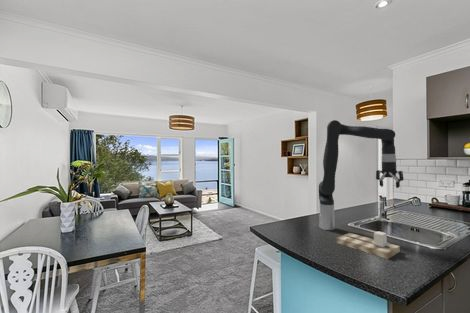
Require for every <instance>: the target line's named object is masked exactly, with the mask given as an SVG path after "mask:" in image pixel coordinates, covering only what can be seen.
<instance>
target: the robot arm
mask: <svg viewBox="0 0 470 313" xmlns="http://www.w3.org/2000/svg"><path fill="white" fill-rule="evenodd" d="M340 135H341V136H342V135H343V136H344V135H345V136H353V137H354V136H355V137H359V138H364V139H365V138H366V139H377V140H378V139H379V140H380V141H381V170H379V169H377V170H376V172H375V173H376V174H375V180H377V181H379V186H380V187H381V188H382V187H384V179H385V178H391V179H392V178H393V180H395V188H396V189H399V188H401V182H403V181H404V172H403V170H397V156H396V146H395V138H396V132H395V130H393V129H390V128H379V127H378V128H377V127H371V126H351V125H345V124H342V123H341V122H340V121H339V120H336V119H335V120H331V121H329V122H328V123H327V126H326V142H325V146H324V150H323V151H324V153H323V158H322V167H323V178H322V181H320V183H318V200H319V214H318V228H320V229H322V230H324V231H334V230H335V228H336V227H335V226H336V225H335V223H336V222H335V200H334V197H333V194H334V192H335V188H336V184H335V183H336V171H337V167H338V162H339V160H338V159H339V138H340V137H339V136H340ZM381 174H382V175H381ZM397 174H398V175H397Z"/></svg>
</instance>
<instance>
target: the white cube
mask: <svg viewBox="0 0 470 313" xmlns="http://www.w3.org/2000/svg"><path fill="white" fill-rule="evenodd" d="M373 239H374V242H373V243H372V245H376V246H379V247H385V246H387V245H388V243H389V242H388V240H387V239H388V238H387V232H383V231H375V232H373Z"/></svg>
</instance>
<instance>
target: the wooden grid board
mask: <svg viewBox="0 0 470 313" xmlns="http://www.w3.org/2000/svg"><path fill="white" fill-rule="evenodd" d="M373 242H374V238H371V237H367V236H364V235H359V234H355V233H352V232H348V233H345V234H343V235H340V236H338V237H336V244H339V245H342V246H346V247H348V248H352V249H355V250H357V251H360V252H365V253H367V254H371V255H372V256H376V257H380V258H383V259H386V260H389V259H391V258H392V257H394V256H396V255H397V254H399V253H400V252H401V251H400V249H401V248H400V245H397V244H393V243H391V242H390V243H389V242H387V243H388V245H387V246H385V247H379V246H376V245H372V243H373Z"/></svg>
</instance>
